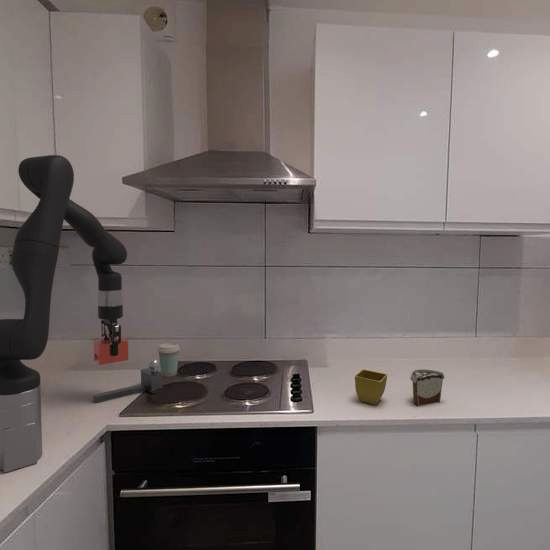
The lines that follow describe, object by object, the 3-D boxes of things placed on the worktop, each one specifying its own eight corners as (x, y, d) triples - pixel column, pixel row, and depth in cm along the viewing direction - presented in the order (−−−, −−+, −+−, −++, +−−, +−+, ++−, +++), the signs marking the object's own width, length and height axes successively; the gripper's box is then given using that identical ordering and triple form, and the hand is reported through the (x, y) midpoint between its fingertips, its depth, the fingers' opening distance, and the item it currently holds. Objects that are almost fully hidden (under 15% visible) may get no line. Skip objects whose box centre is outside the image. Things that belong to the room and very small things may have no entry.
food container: (429, 395, 126) (430, 367, 126) (443, 402, 120) (444, 372, 120) (401, 399, 122) (402, 371, 121) (414, 407, 116) (415, 377, 115)
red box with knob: (128, 359, 120) (128, 338, 119) (99, 365, 114) (99, 342, 113) (122, 355, 125) (121, 334, 124) (93, 360, 119) (93, 338, 118)
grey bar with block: (165, 390, 127) (165, 361, 126) (98, 407, 113) (97, 374, 112) (154, 382, 135) (154, 354, 134) (90, 397, 120) (89, 366, 120)
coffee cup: (184, 374, 144) (184, 345, 143) (165, 380, 138) (165, 349, 137) (172, 369, 150) (172, 341, 149) (153, 374, 143) (153, 345, 142)
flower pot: (387, 399, 122) (387, 373, 121) (379, 408, 114) (380, 381, 114) (361, 393, 126) (362, 369, 126) (353, 402, 119) (354, 376, 119)
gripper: (92, 302, 121) (93, 350, 122) (104, 307, 110) (105, 360, 111) (115, 300, 126) (116, 347, 127) (129, 305, 115) (129, 356, 116)
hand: (111, 353), depth 119 cm, fingers closed on red box with knob, 6 cm apart
